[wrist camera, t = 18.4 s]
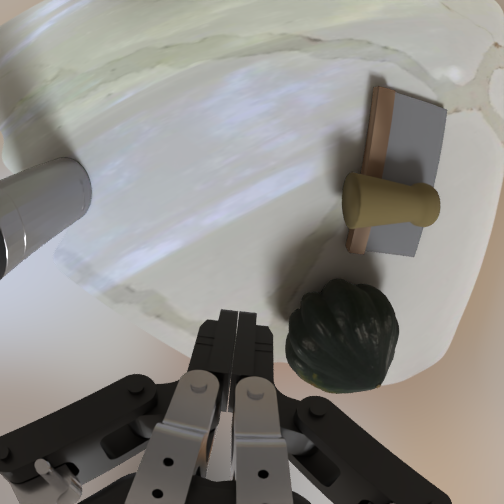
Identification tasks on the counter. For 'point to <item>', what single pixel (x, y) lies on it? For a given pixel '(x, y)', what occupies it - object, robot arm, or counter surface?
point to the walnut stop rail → (374, 154)
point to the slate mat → (409, 166)
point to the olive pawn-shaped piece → (387, 202)
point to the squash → (343, 338)
